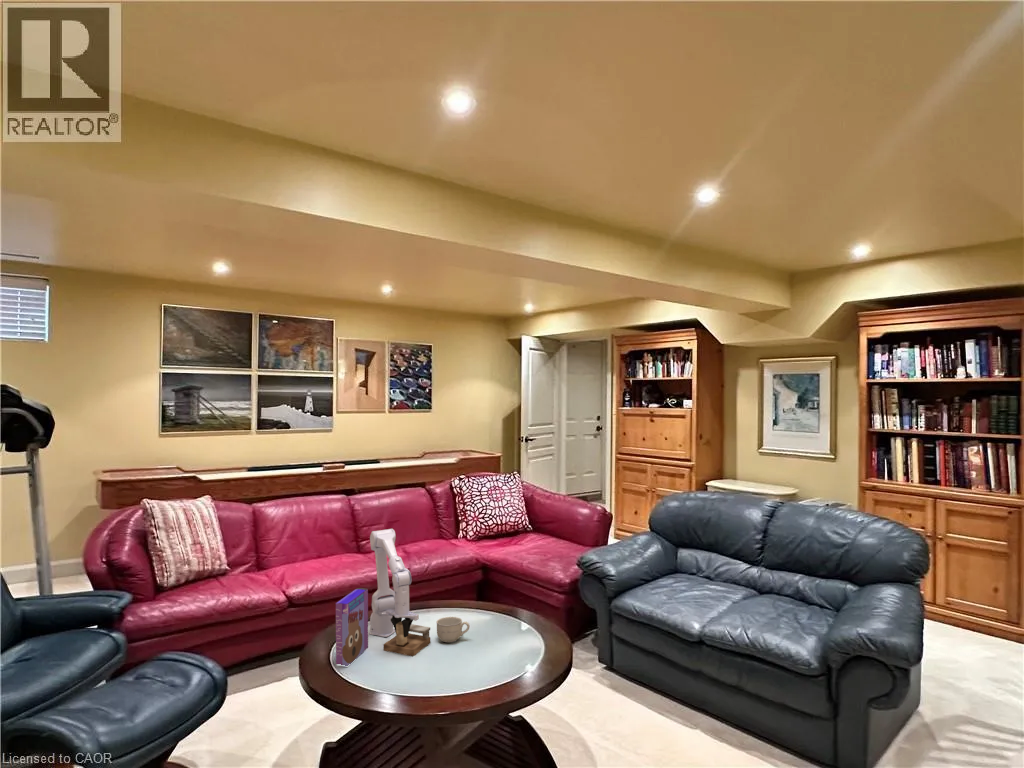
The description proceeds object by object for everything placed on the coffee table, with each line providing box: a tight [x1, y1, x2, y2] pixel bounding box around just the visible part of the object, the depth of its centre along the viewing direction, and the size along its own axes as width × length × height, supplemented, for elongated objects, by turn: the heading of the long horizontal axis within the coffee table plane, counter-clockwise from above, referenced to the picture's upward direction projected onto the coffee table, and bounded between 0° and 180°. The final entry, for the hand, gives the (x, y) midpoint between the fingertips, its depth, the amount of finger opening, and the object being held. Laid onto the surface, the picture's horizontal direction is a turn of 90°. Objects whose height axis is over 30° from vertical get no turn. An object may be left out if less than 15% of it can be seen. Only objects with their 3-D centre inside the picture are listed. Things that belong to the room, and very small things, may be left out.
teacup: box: [436, 616, 470, 643], centre depth 241 cm, size 14×11×8 cm
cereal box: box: [335, 587, 369, 666], centre depth 227 cm, size 17×5×24 cm, turn 168°
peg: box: [395, 621, 407, 645], centre depth 231 cm, size 3×3×8 cm
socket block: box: [382, 623, 431, 657], centre depth 235 cm, size 14×13×6 cm
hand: (402, 635), depth 231 cm, fingers closed on peg, 3 cm apart
